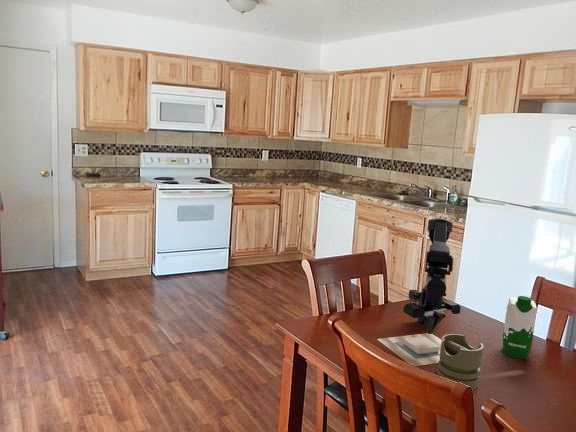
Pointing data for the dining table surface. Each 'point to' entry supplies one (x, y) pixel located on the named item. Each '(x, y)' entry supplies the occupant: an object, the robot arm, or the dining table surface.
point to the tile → (421, 345)
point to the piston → (460, 360)
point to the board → (409, 355)
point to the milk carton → (519, 327)
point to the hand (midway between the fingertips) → (429, 333)
